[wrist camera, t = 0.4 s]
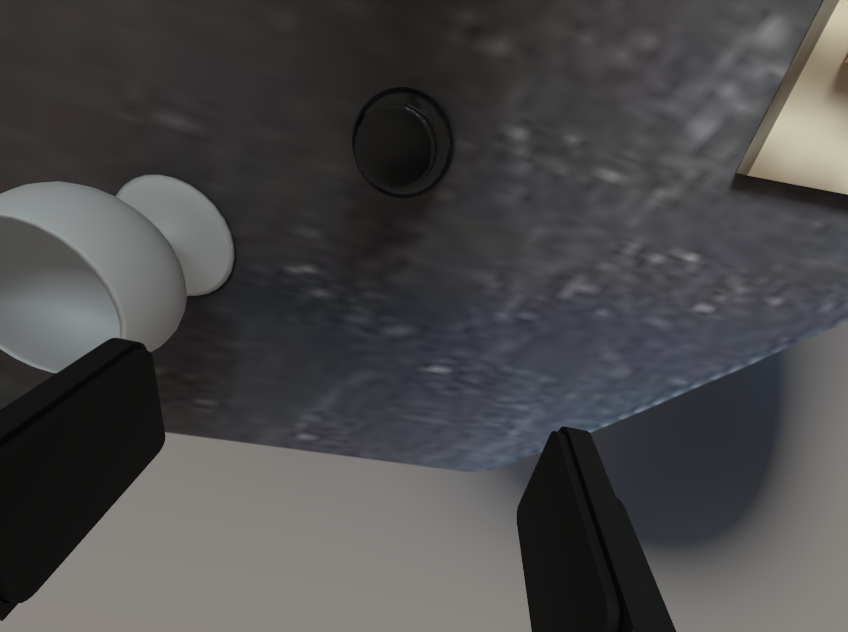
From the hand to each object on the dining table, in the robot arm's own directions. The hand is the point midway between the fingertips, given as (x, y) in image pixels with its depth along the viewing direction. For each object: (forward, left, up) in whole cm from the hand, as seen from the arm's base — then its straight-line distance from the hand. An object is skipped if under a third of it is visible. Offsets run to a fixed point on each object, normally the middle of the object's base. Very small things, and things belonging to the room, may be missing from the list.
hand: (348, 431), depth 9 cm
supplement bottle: (-4, -2, -30) cm, 30 cm away
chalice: (+9, -24, -30) cm, 39 cm away
